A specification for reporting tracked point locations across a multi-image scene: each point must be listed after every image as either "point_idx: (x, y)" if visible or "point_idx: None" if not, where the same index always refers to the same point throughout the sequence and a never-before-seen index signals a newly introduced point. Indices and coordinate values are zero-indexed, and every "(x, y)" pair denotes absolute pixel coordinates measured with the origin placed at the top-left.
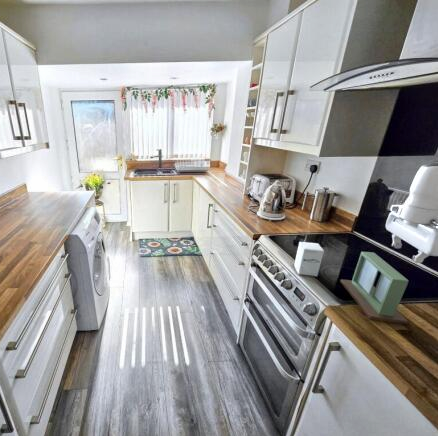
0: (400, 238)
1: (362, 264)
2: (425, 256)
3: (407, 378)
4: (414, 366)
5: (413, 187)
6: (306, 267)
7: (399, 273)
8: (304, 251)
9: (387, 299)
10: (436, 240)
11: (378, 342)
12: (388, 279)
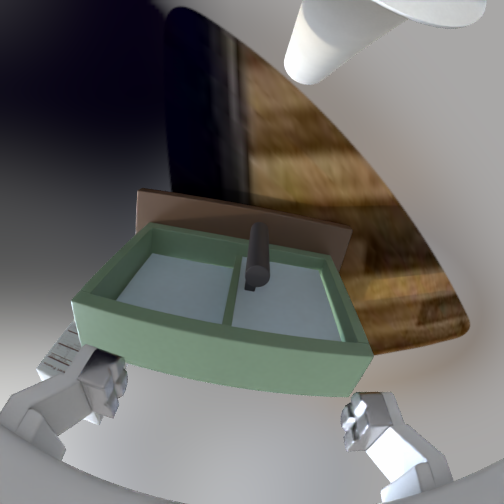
0: (42, 405)
1: (118, 296)
2: (419, 446)
3: (445, 334)
4: (438, 309)
5: None
6: None
7: (311, 353)
8: (102, 417)
9: None
10: None
11: (385, 333)
12: (280, 329)
